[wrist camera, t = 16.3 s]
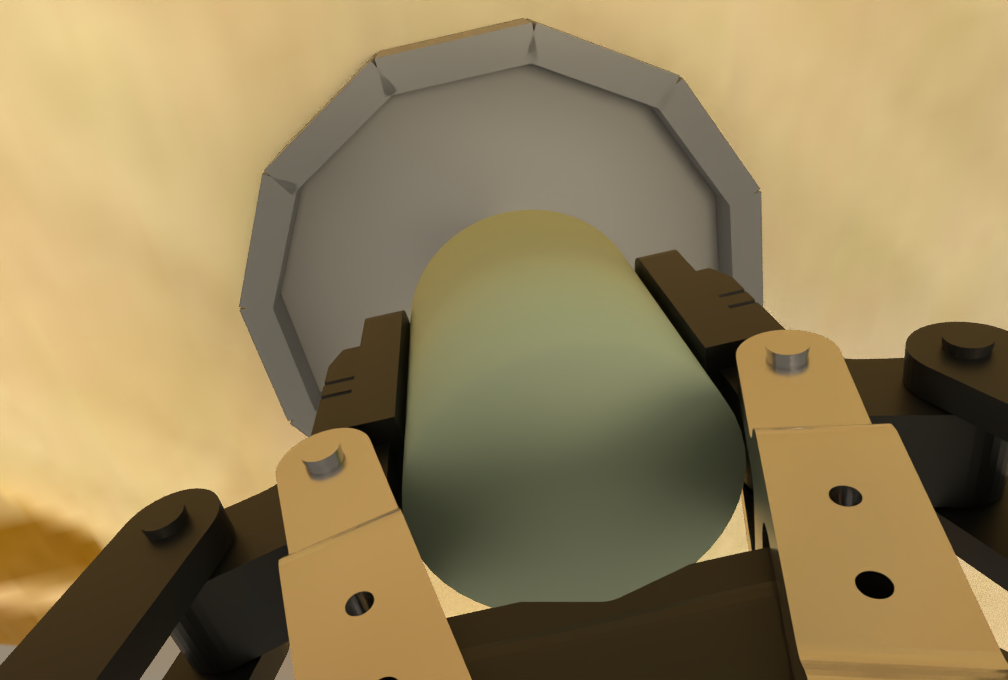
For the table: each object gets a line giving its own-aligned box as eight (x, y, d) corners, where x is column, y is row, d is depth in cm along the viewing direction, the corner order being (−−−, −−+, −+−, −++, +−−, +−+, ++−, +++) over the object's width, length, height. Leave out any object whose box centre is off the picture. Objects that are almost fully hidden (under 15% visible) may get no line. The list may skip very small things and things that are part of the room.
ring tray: (743, 423, 34) (765, 454, 31) (349, 511, 34) (343, 548, 32) (727, -29, 24) (757, -30, 22) (176, 97, 24) (151, 109, 22)
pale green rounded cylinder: (680, 330, 13) (803, 501, 9) (506, 451, 14) (541, 659, 10) (550, 158, 12) (625, 269, 7) (360, 310, 13) (325, 489, 8)
